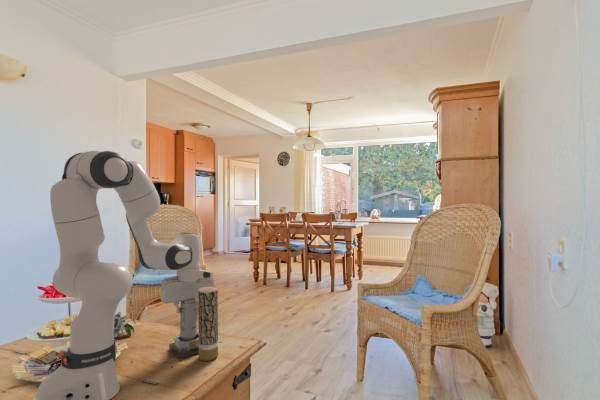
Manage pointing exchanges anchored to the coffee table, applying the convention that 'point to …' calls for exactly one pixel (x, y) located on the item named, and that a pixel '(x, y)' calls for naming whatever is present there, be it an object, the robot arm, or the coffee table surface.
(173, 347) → the can mount
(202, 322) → the bark patterned cylinder
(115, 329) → the passion flower
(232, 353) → the coffee table surface
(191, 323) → the energy drink can
